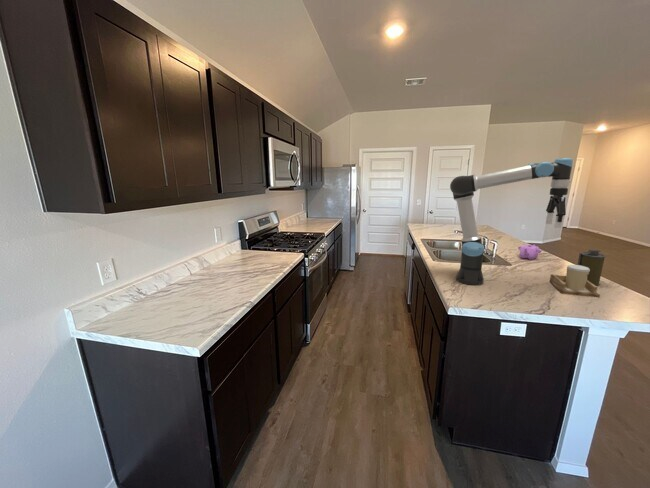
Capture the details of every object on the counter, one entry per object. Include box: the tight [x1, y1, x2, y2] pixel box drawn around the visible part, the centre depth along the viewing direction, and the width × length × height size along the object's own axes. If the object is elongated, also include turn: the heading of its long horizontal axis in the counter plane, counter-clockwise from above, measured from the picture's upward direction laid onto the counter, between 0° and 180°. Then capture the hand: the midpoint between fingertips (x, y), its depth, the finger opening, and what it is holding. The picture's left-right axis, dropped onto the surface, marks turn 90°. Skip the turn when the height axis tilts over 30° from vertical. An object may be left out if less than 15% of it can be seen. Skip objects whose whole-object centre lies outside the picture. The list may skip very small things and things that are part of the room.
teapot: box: [517, 243, 542, 261], centre depth 213 cm, size 15×13×11 cm
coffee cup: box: [565, 264, 590, 290], centre depth 151 cm, size 9×9×12 cm
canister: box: [577, 248, 606, 287], centre depth 162 cm, size 11×10×20 cm
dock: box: [548, 274, 601, 298], centre depth 154 cm, size 16×18×5 cm
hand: (552, 226), depth 156 cm, fingers open, 13 cm apart
